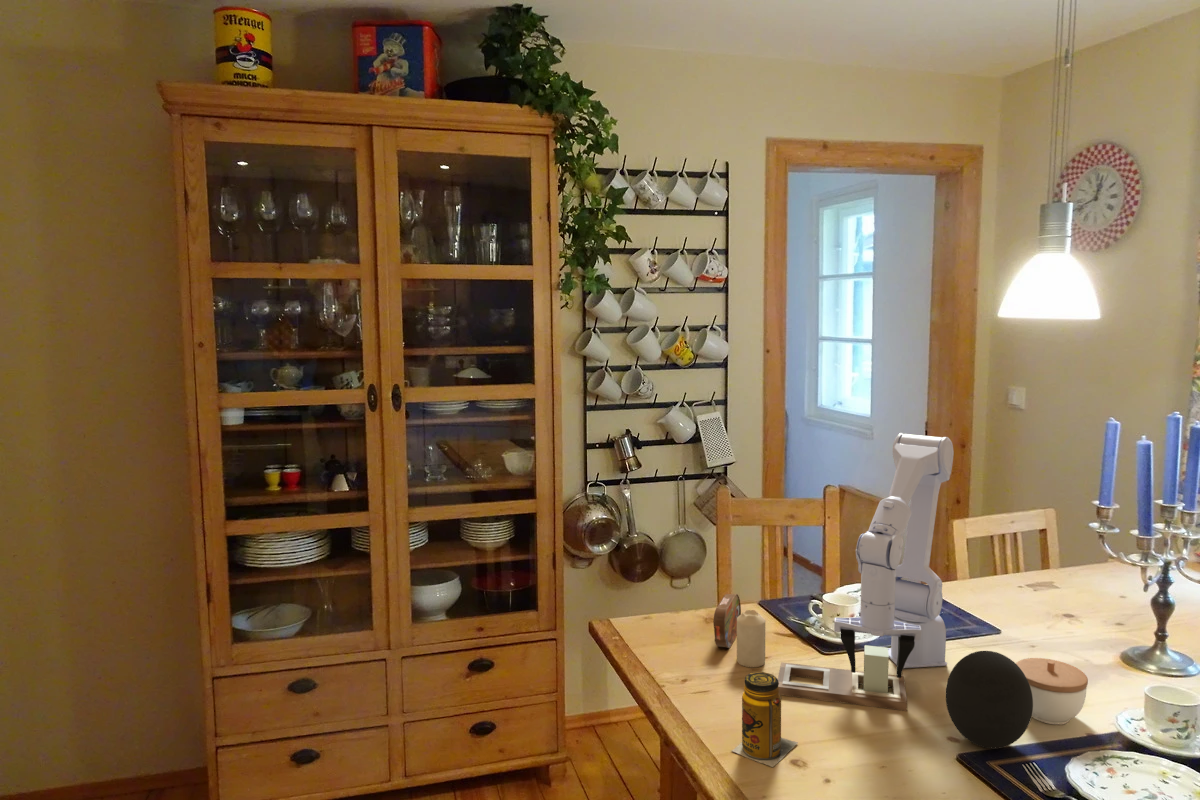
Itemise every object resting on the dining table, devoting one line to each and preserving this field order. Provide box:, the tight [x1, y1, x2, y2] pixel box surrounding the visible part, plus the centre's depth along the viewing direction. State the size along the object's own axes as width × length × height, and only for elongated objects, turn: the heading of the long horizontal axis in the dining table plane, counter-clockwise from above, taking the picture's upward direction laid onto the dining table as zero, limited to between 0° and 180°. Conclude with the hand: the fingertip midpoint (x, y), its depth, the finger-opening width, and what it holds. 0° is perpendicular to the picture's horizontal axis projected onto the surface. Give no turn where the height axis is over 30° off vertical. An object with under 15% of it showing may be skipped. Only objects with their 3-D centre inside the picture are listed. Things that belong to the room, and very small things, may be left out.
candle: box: [736, 609, 766, 668], centre depth 157 cm, size 6×6×10 cm
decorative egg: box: [945, 650, 1033, 749], centre depth 127 cm, size 12×12×15 cm
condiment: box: [730, 671, 799, 768], centre depth 127 cm, size 7×8×12 cm
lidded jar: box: [1015, 657, 1089, 726], centre depth 135 cm, size 11×11×9 cm
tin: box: [712, 593, 742, 649], centre depth 168 cm, size 15×3×8 cm, turn 158°
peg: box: [862, 644, 890, 694], centre depth 144 cm, size 4×4×8 cm
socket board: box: [777, 661, 908, 712], centre depth 146 cm, size 22×10×2 cm, turn 73°
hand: (875, 672), depth 144 cm, fingers open, 7 cm apart
